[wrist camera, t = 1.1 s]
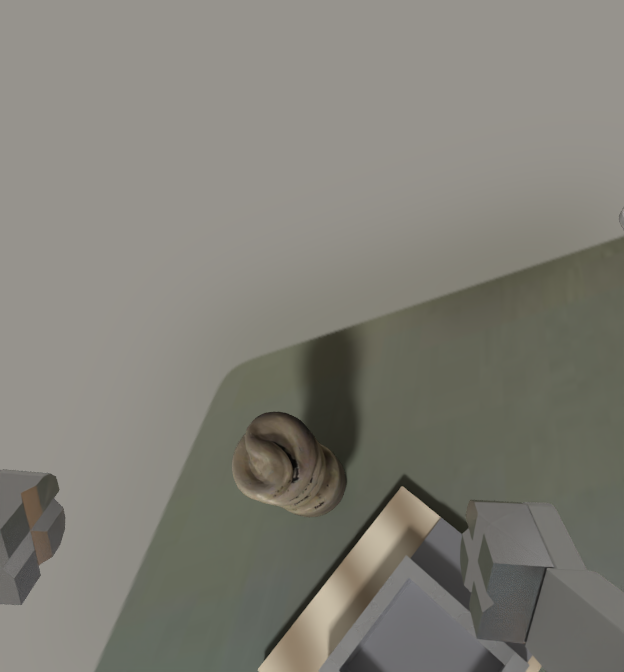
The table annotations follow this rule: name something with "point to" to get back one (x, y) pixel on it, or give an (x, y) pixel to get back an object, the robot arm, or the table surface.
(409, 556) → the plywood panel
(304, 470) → the light bulb
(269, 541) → the table surface
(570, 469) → the table surface
